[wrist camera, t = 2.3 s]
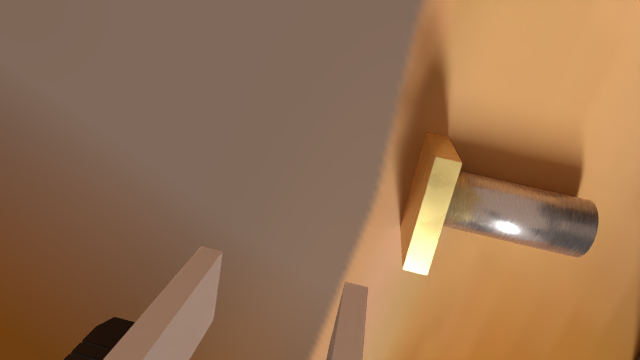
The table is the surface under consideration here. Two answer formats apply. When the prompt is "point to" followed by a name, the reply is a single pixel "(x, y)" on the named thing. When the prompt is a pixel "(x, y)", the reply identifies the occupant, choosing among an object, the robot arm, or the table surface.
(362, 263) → the table surface
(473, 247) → the table surface
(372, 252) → the table surface
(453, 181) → the lynch pin
